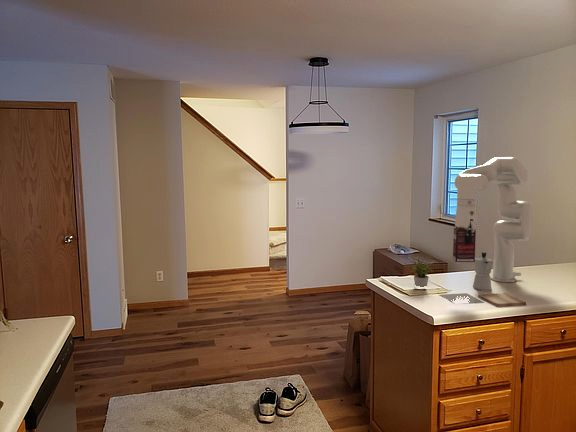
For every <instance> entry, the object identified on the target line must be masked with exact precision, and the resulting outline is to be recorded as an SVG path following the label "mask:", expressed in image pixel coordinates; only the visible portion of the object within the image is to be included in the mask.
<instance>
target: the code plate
mask: <svg viewBox="0 0 576 432" xmlns="http://www.w3.org/2000/svg"><path fill="white" fill-rule="evenodd" d="M440 295H441V297H442V298H444V299H445V298H446V300H447V299H448V300H447V301H449V302H451V303H452V301H453V299H454V301H455V300H456V298H458V299H459V298H461V299H462V298H463V300H464V299H465V298H466V297H467V296H468V297H469V298H470V299H469V298H467V299H469V301H470V302H469V301H468V302H469V304H483V303H485V301H484V300H483V301H482V299H480V298H478V297H475V296H473V295H471V294H469V293H467V292H466V293H464V292H463V293H444V294H440ZM457 296H458V297H457ZM460 296H461V297H460ZM464 296H465V298H464ZM461 299H460V300H461ZM451 300H452V301H451Z"/></svg>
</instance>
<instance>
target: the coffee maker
mask: <svg viewBox="0 0 576 432" xmlns="http://www.w3.org/2000/svg"><path fill="white" fill-rule="evenodd" d="M493 264H494V259H491V258H488V257H487V252H481V256H478V257H475V264H474V272H475V275H474V279H473V284H472V288H473V289H475V290H479V291H491V290H493V289H492V281H491V280H492V279H490V275H491V273H492V270H493Z"/></svg>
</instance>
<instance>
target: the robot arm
mask: <svg viewBox="0 0 576 432" xmlns="http://www.w3.org/2000/svg"><path fill="white" fill-rule="evenodd" d="M528 179H529V172H528V170H527V169H526V167H525V165H524V164H523V162H522V161H521V160H520V159H519V158H517V157H515V156H513V157H512V156H507V157H506V156H504V157H503V156H501V157H500V156H499V157H498V156H497V157H493V158H491V159H490V160H488V161H487V162H485V163H484V164H483V165H479V166H475V167H472V168H468V169H465V170H463V171H461V172H460V173H458V174H457V175H456V177H455V179H454V186H455V188H456V189H457V191H456V193H457V194H456V195H457V196H456V210H455V220H454V221H455V222H454V226H455V228H464V229H465V232H466V235H465V244H472V235H473V233H474V231H475V230H476V231H477V209H476V192H482V191H485V190H486V189H487V188H488V186H489V185H490V183H489V182H493V183H494V185H495V186H496V189H497V192H498V195H497V215H498V216H499V218H503V219H511V220H498V221H496V222H495V223H494V225H493V227H492V228H493V237H494V246H493V247H494V248H493V251H494V253H493V264H492V274H490V279H491V280H492V281H495V282H501V283H513V282H516V281H517V278H516V277H521V276H522V273H521V272H520V271H519V272H516V271H514V262H515V245H514V244H513V242H512V240H513V241H521V242H522V241H523V242H527V241H528V240H529V239H530V237H531V233H532V219H533V207H532V204H531V203H530V202H529V201H526V200H517V193H518V192H517V189H516V187H515V185H523V184H526V182H527V181H528ZM512 219H513V220H519V221H512ZM468 230H469V232H468Z"/></svg>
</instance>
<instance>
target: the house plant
mask: <svg viewBox="0 0 576 432" xmlns="http://www.w3.org/2000/svg"><path fill="white" fill-rule="evenodd" d="M416 258H417V262H416V260H415V259H414V258H413V257H411V259H412V260H411V259H409V262H411V265H413V266H412V269H410V273H412V272H415V273H416V274H414V275H413V278H414V279H413V280H414V286H415V285H416V286H420V287H424V286H428V282H429V276H428V274H429V273H432V271H433V269H431V268H428V267H429V266H431V265H432V264H433V263H434V262H436V260H435V261H432V262H430V263H429V260H426V262H425V264H424V265H423V261H424V260H421V261H420V259H419V257H418V256H416ZM423 258H425V256H424V257H423ZM407 269H409V268H407Z"/></svg>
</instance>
